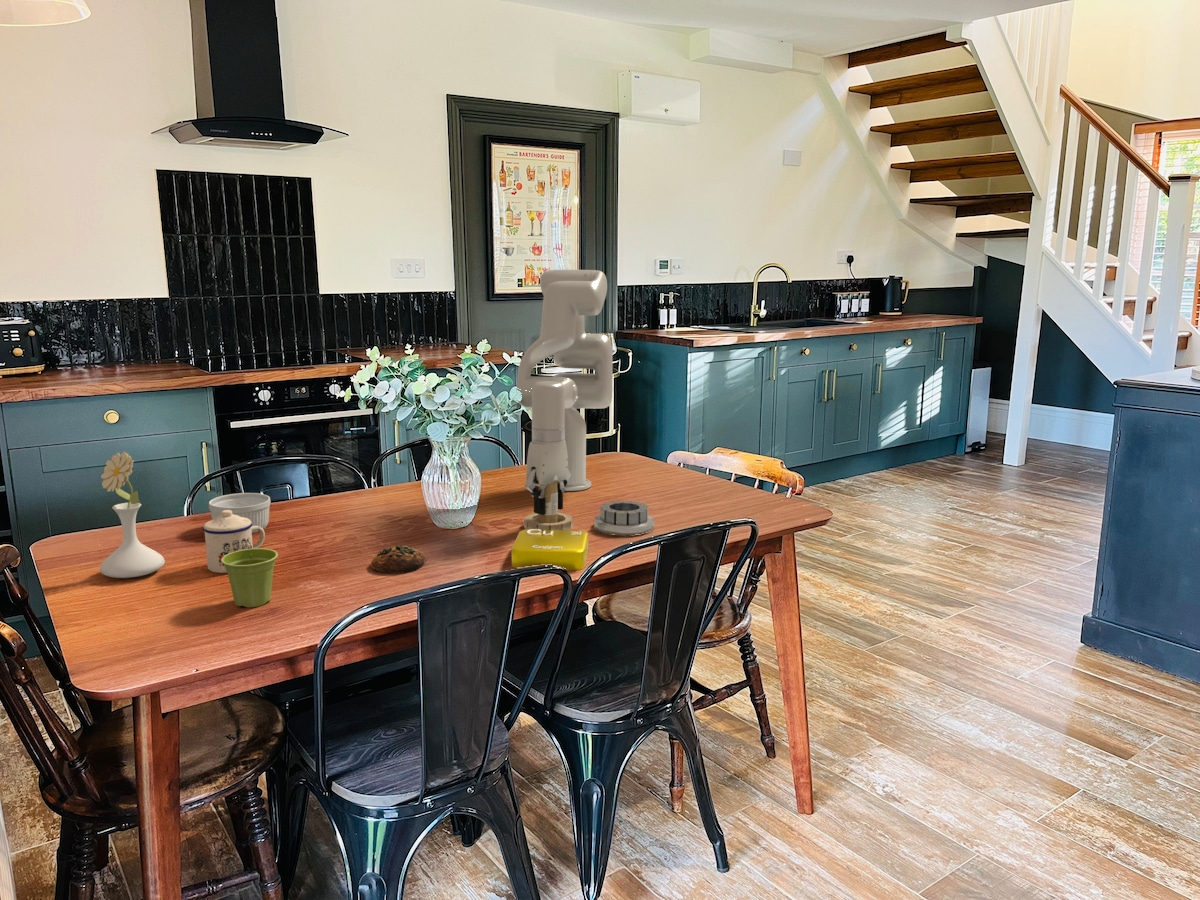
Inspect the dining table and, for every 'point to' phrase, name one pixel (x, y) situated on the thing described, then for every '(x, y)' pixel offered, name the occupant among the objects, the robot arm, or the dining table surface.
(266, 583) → the plant pot
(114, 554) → the flower in vase
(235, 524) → the teacup with lid
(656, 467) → the dining table surface
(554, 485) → the sprinkles bottle
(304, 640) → the dining table surface
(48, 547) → the dining table surface
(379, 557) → the bread roll
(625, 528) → the hub
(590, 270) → the robot arm
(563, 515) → the beige flat ring
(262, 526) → the ramekin
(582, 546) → the element tile
